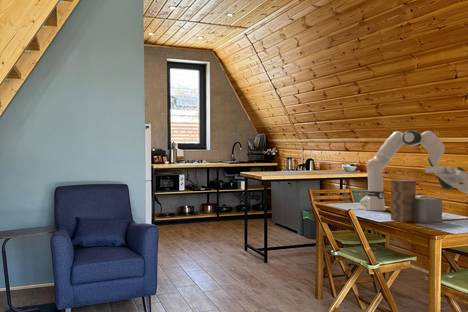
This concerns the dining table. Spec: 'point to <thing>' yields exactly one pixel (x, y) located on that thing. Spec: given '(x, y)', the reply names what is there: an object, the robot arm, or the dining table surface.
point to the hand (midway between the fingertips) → (442, 168)
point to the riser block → (427, 210)
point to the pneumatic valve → (419, 196)
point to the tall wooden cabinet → (402, 199)
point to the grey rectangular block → (437, 169)
